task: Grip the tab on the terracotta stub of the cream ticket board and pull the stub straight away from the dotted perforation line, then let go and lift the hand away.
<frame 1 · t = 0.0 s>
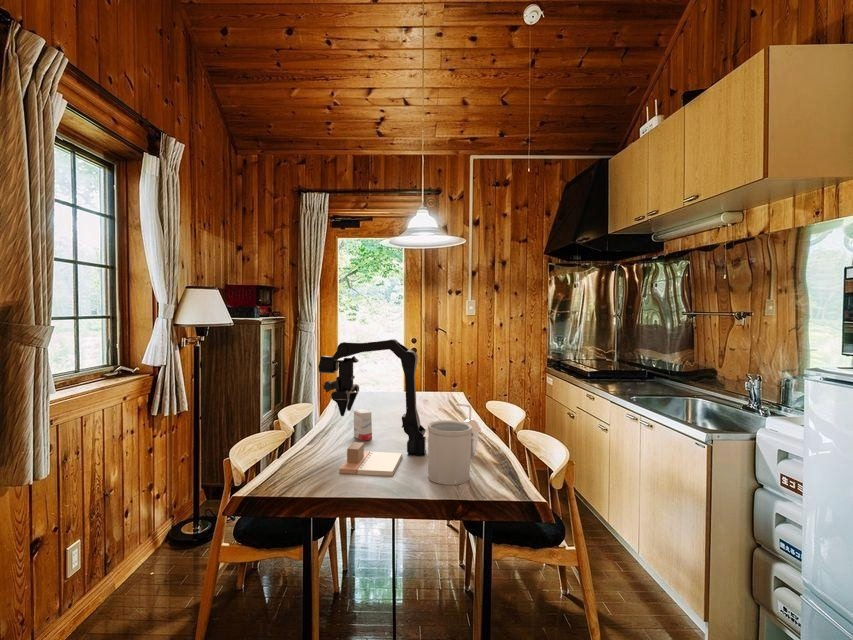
hand: (345, 413, 183), 15 cm above the table, fingers open, 9 cm apart
ticket board: (381, 465, 167), on the table
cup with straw: (468, 455, 179), on the table
utensil holder: (449, 478, 155), on the table
ink box: (362, 438, 201), on the table
stub: (355, 454, 168), point 3 cm above the table, slide at 0.0 cm
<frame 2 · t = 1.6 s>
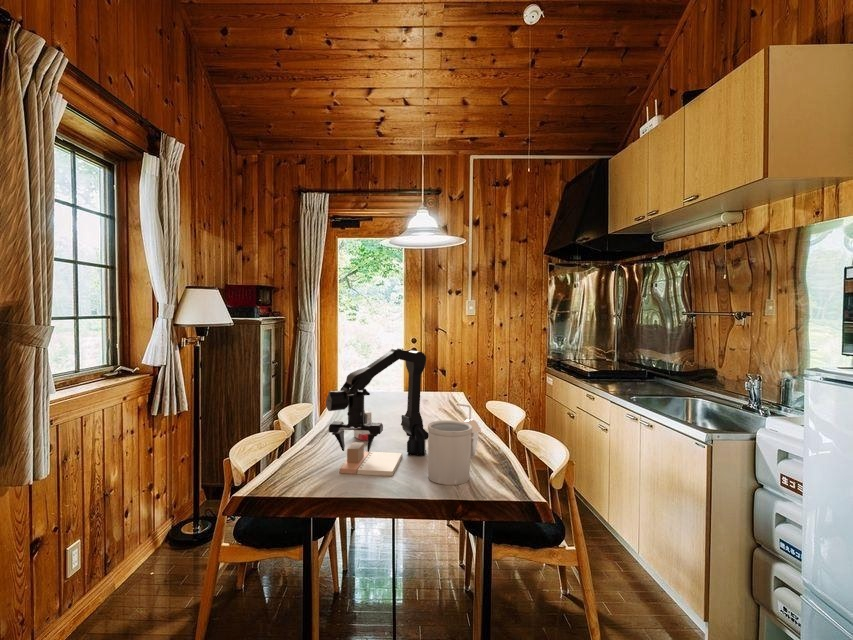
hand: (355, 451, 168), 5 cm above the table, fingers open, 9 cm apart
nothing on the table moved.
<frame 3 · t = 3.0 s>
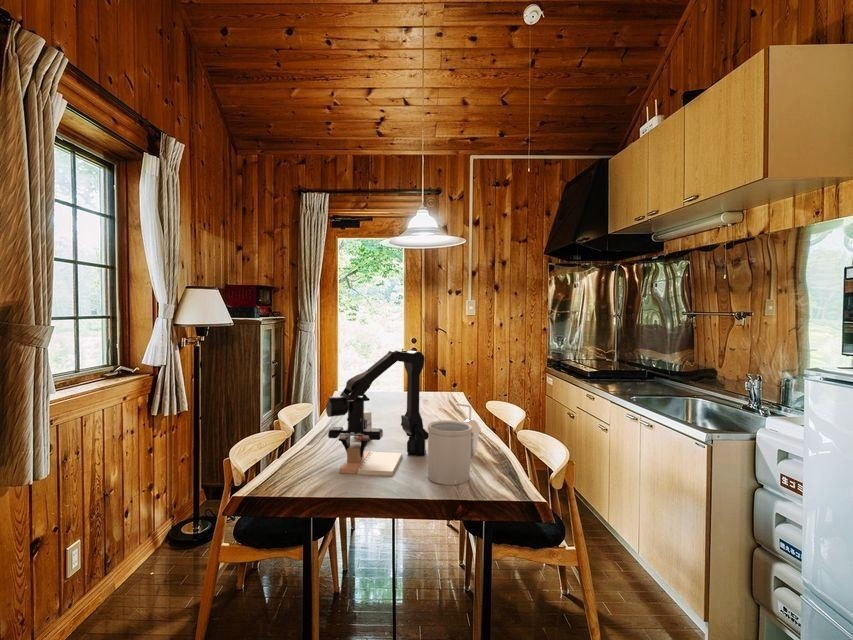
hand: (355, 457, 168), 3 cm above the table, fingers closed on stub, 4 cm apart
stub: (355, 454, 168), point 3 cm above the table, slide at 0.0 cm, touching gripper
everything else where it was.
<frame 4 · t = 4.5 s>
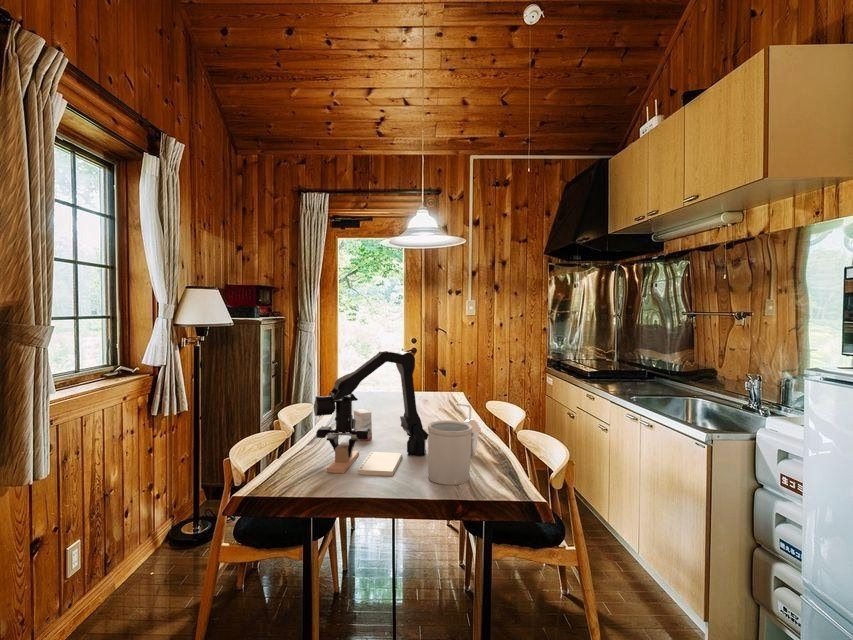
hand: (343, 456, 168), 3 cm above the table, fingers closed on stub, 4 cm apart
stub: (343, 454, 168), point 3 cm above the table, slide at 4.4 cm, touching gripper
everything else where it was.
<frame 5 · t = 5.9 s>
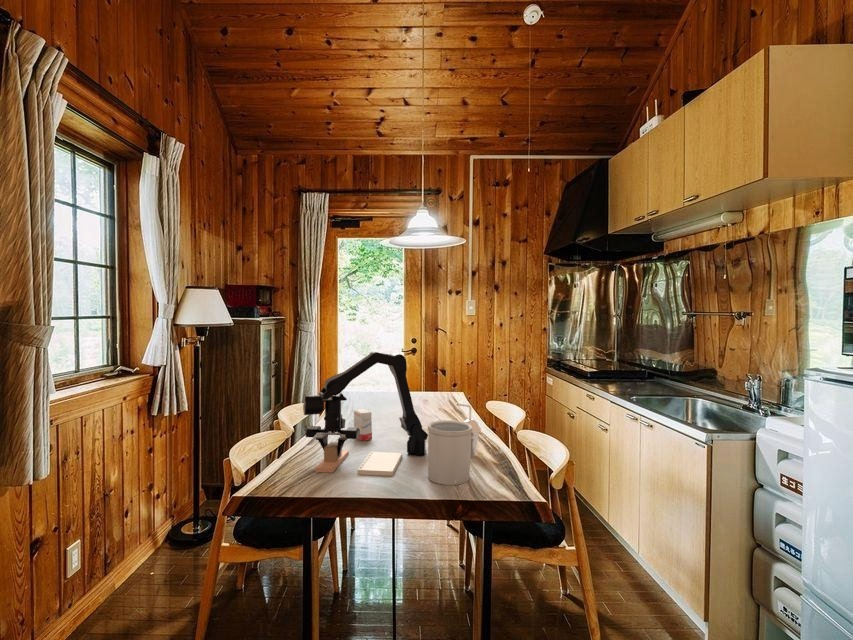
hand: (332, 455, 169), 3 cm above the table, fingers closed on stub, 4 cm apart
stub: (332, 453, 169), point 3 cm above the table, slide at 8.4 cm, touching gripper
everything else where it was.
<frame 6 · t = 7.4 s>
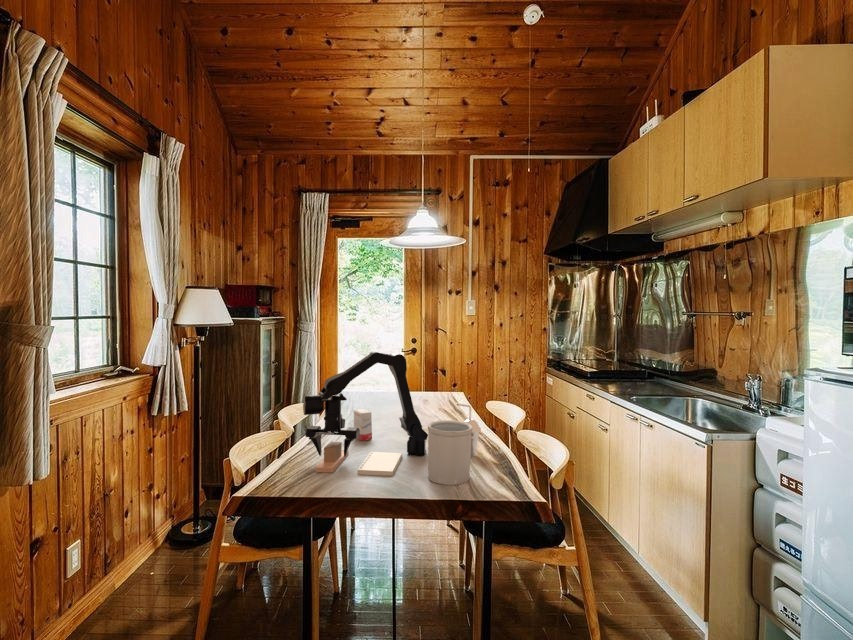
hand: (332, 455, 169), 3 cm above the table, fingers open, 9 cm apart
stub: (332, 453, 169), point 3 cm above the table, slide at 8.4 cm
everything else where it was.
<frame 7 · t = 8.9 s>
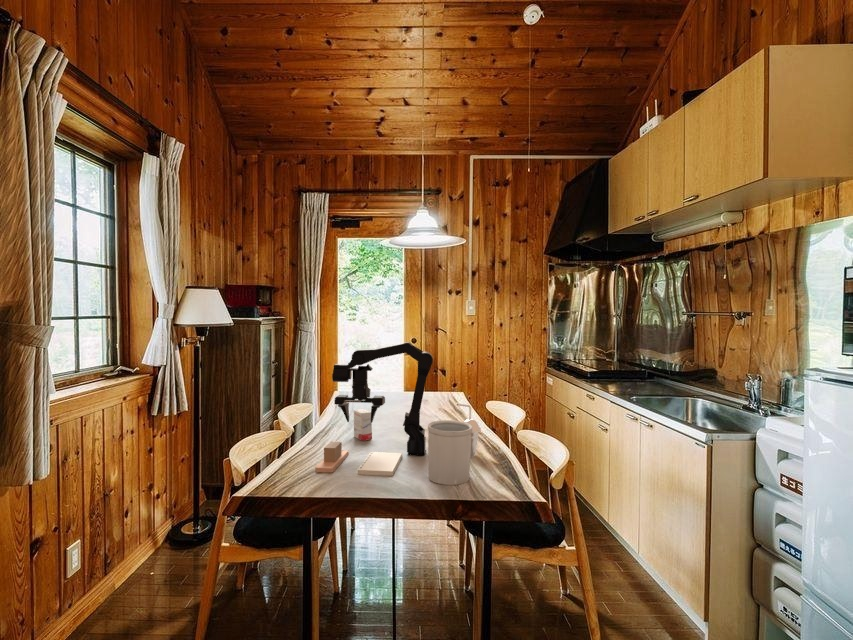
hand: (359, 422, 180), 12 cm above the table, fingers open, 9 cm apart
nothing on the table moved.
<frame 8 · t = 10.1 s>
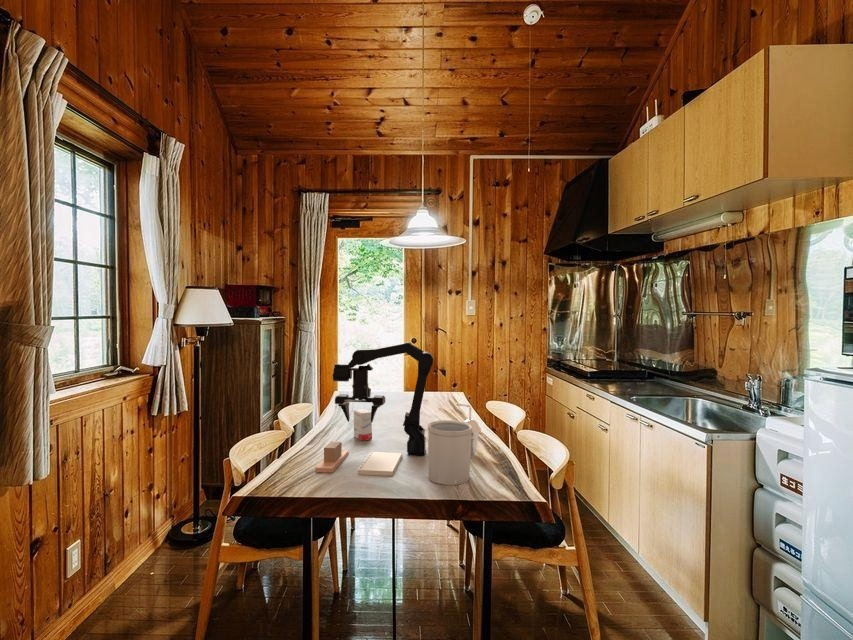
hand: (360, 421, 181), 12 cm above the table, fingers open, 9 cm apart
nothing on the table moved.
at the end: stub slide at 8.4 cm; the gripper is holding nothing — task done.
